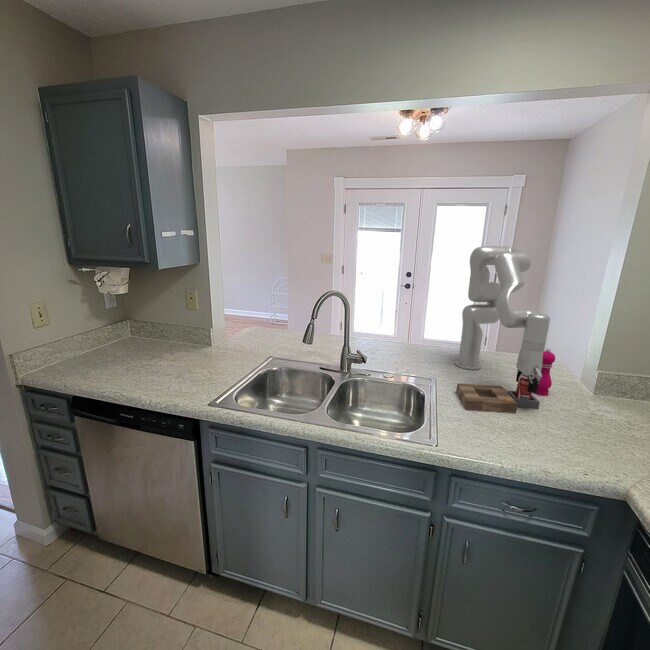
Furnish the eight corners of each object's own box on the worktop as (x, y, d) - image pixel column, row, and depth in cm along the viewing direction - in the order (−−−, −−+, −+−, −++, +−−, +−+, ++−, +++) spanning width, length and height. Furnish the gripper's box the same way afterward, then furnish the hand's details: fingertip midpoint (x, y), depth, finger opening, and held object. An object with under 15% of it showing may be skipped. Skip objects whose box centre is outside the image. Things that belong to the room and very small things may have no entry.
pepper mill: (525, 389, 147) (534, 346, 142) (537, 387, 150) (546, 344, 144) (541, 397, 141) (550, 352, 135) (553, 394, 143) (563, 350, 138)
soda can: (515, 398, 139) (520, 371, 136) (530, 402, 136) (535, 375, 133) (513, 403, 135) (518, 375, 132) (527, 407, 132) (533, 379, 129)
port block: (456, 392, 144) (457, 382, 143) (500, 394, 142) (501, 385, 141) (466, 409, 129) (468, 399, 128) (515, 413, 128) (517, 403, 127)
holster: (506, 397, 140) (507, 390, 139) (527, 398, 139) (529, 391, 139) (515, 407, 132) (516, 400, 131) (538, 408, 131) (539, 401, 130)
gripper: (513, 338, 138) (506, 377, 142) (534, 352, 121) (526, 396, 125) (532, 339, 137) (525, 378, 141) (556, 353, 120) (547, 397, 125)
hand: (525, 386), depth 133 cm, fingers open, 9 cm apart
